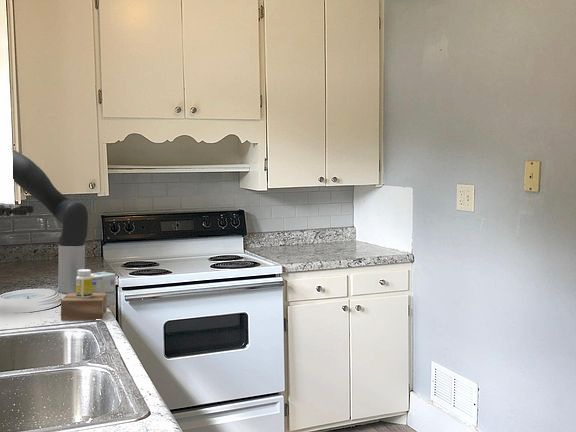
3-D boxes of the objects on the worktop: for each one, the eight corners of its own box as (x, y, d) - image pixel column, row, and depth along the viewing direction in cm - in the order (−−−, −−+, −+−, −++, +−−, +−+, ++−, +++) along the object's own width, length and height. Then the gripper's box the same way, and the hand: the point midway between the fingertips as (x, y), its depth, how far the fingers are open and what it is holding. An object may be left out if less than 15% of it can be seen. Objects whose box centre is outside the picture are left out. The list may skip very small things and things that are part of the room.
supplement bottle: (93, 295, 206) (94, 269, 206) (89, 298, 202) (90, 271, 201) (78, 295, 206) (78, 268, 206) (74, 298, 202) (74, 271, 201)
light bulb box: (104, 302, 225) (104, 271, 224) (116, 305, 221) (116, 273, 220) (76, 306, 217) (77, 274, 216) (88, 310, 213) (89, 277, 212)
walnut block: (67, 311, 210) (67, 292, 209) (106, 311, 212) (106, 292, 211) (60, 320, 198) (61, 300, 197) (101, 320, 200) (102, 300, 199)
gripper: (-32, 198, 197) (24, 200, 200) (-18, 196, 211) (35, 197, 214) (-32, 223, 198) (24, 224, 200) (-18, 219, 212) (34, 220, 214)
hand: (29, 210), depth 207 cm, fingers open, 8 cm apart
